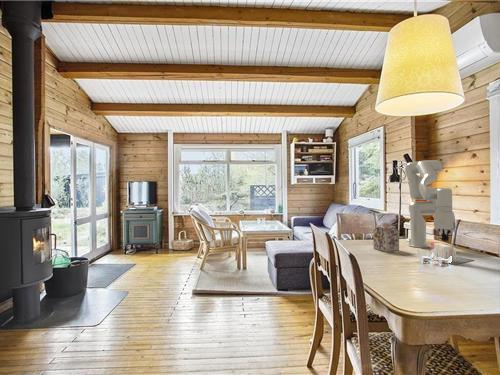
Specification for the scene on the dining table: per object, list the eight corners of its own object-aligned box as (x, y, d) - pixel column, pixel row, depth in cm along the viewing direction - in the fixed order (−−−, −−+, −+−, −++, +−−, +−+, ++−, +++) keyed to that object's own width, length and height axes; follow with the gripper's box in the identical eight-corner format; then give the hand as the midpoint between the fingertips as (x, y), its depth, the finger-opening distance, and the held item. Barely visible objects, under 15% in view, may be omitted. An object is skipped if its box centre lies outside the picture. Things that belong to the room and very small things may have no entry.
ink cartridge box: (430, 242, 173) (447, 247, 159) (438, 242, 174) (456, 247, 159) (430, 256, 173) (447, 263, 159) (438, 256, 173) (456, 263, 159)
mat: (428, 259, 168) (428, 258, 168) (447, 255, 178) (447, 254, 178) (454, 265, 156) (454, 264, 156) (474, 260, 165) (474, 259, 165)
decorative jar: (385, 247, 204) (385, 221, 204) (399, 250, 194) (399, 223, 194) (372, 249, 199) (372, 222, 199) (386, 252, 189) (386, 224, 189)
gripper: (427, 208, 174) (428, 239, 174) (454, 210, 161) (455, 243, 161) (435, 208, 178) (435, 238, 178) (462, 209, 165) (462, 242, 165)
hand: (445, 240), depth 169 cm, fingers closed
